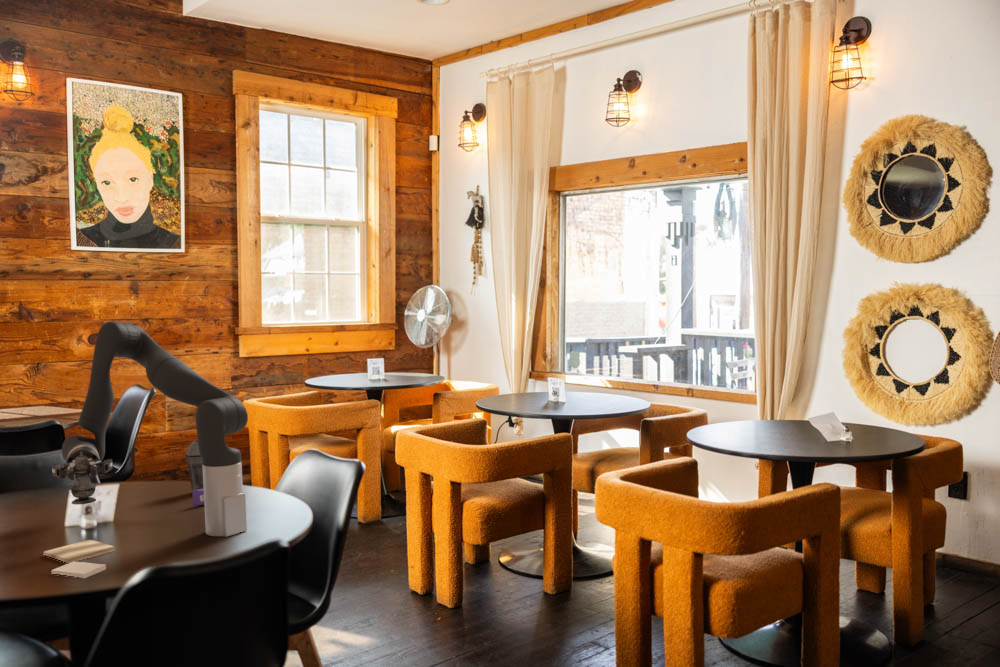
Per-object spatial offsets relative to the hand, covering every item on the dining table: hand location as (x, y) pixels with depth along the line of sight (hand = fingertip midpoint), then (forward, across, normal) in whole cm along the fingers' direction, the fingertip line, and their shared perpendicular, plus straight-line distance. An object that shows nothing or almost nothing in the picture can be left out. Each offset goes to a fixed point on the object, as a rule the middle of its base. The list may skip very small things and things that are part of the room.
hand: (82, 474), depth 203 cm
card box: (+18, -1, +18) cm, 25 cm away
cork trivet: (+3, -1, +18) cm, 18 cm away
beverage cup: (-45, +30, +18) cm, 57 cm away
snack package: (-30, +32, +18) cm, 47 cm away
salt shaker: (-3, 0, +7) cm, 8 cm away
